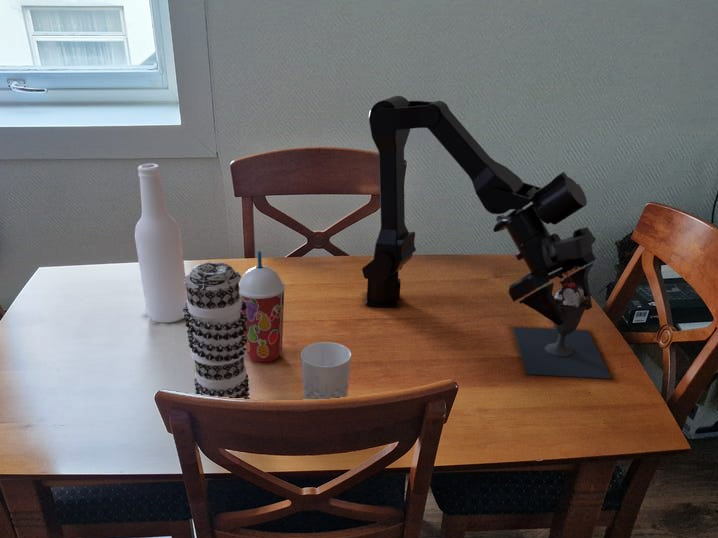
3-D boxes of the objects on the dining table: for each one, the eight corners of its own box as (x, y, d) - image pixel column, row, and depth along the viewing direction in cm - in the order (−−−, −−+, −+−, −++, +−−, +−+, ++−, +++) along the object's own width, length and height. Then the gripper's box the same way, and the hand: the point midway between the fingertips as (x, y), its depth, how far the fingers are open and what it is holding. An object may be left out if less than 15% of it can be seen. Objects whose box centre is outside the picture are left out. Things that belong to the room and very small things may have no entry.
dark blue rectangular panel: (527, 374, 114) (527, 373, 114) (513, 327, 129) (513, 327, 128) (611, 379, 112) (612, 378, 112) (587, 331, 127) (587, 330, 127)
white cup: (346, 423, 103) (348, 368, 97) (297, 418, 104) (296, 364, 99) (352, 396, 109) (354, 343, 104) (305, 392, 111) (305, 340, 105)
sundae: (534, 342, 123) (550, 267, 114) (569, 341, 123) (588, 265, 115) (547, 360, 118) (565, 282, 109) (584, 358, 118) (605, 280, 109)
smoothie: (292, 347, 124) (290, 245, 112) (277, 369, 117) (273, 263, 106) (251, 341, 126) (245, 241, 115) (234, 362, 120) (226, 258, 108)
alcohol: (182, 302, 142) (164, 157, 125) (195, 318, 135) (178, 168, 118) (142, 310, 139) (118, 163, 122) (154, 327, 132) (130, 174, 115)
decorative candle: (210, 395, 111) (195, 253, 97) (261, 404, 108) (253, 260, 94) (186, 425, 104) (166, 276, 89) (239, 435, 101) (228, 284, 87)
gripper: (537, 227, 104) (585, 313, 103) (598, 203, 114) (642, 281, 113) (488, 261, 114) (532, 339, 113) (548, 236, 123) (589, 308, 122)
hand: (575, 316), depth 115 cm, fingers open, 9 cm apart
